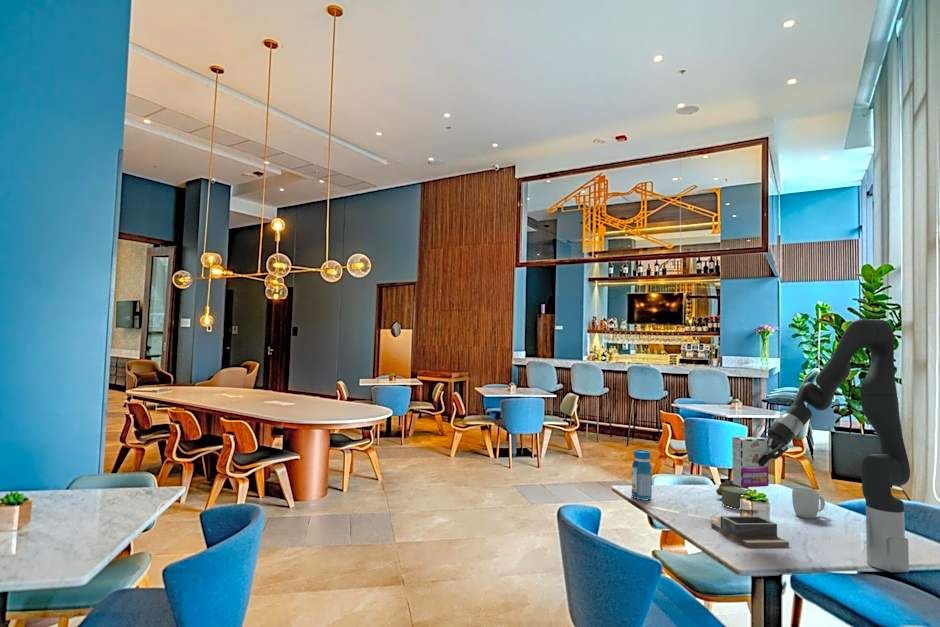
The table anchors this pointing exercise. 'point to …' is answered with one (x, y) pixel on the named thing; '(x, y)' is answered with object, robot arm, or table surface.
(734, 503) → the dark grey bowl
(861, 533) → the table surface
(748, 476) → the candy bar box
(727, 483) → the decorative turtle
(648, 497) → the beverage bottle
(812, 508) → the mug
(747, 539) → the display stand
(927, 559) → the table surface
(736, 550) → the table surface
